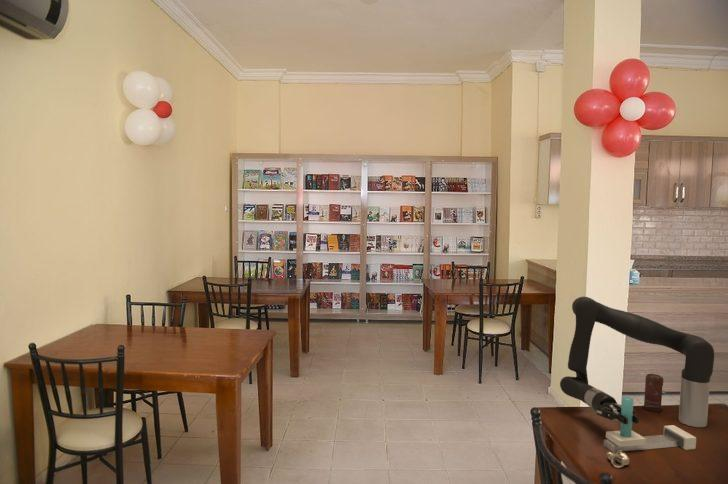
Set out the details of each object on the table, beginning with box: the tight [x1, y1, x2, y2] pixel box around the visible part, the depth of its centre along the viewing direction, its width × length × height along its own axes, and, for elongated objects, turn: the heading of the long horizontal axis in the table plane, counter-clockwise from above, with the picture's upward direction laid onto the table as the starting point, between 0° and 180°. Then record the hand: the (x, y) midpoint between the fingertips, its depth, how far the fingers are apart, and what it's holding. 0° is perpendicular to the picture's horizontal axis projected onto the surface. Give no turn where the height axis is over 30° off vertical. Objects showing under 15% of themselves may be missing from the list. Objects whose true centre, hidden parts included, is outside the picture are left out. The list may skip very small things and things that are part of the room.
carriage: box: [605, 396, 646, 447], centre depth 176 cm, size 10×7×15 cm
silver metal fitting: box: [606, 450, 630, 469], centre depth 166 cm, size 8×7×4 cm
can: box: [643, 373, 664, 413], centre depth 210 cm, size 6×6×14 cm
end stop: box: [662, 424, 697, 451], centre depth 181 cm, size 5×10×4 cm, turn 11°
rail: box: [603, 434, 679, 453], centre depth 178 cm, size 25×5×2 cm, turn 101°
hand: (632, 421), depth 173 cm, fingers closed on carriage, 3 cm apart
